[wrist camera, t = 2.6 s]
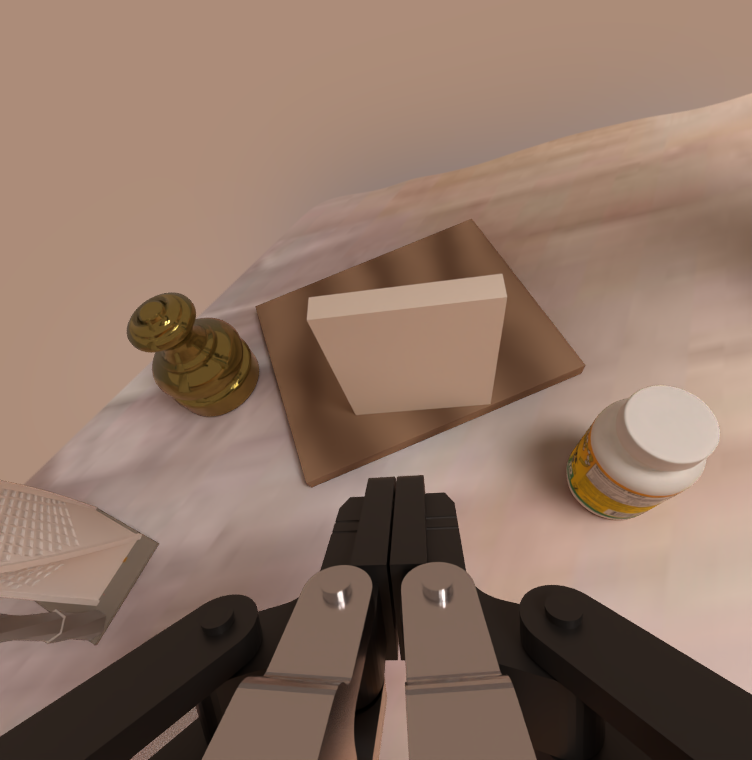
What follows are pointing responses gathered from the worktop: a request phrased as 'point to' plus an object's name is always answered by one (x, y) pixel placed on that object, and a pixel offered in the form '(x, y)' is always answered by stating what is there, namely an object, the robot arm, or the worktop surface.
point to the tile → (413, 343)
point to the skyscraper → (64, 564)
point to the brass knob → (194, 355)
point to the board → (402, 429)
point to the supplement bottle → (642, 452)
